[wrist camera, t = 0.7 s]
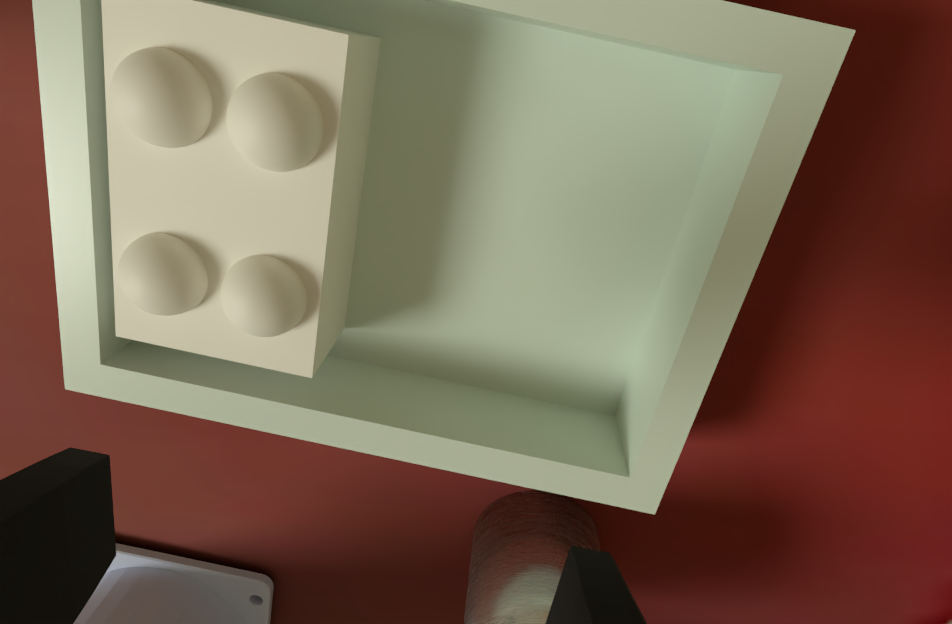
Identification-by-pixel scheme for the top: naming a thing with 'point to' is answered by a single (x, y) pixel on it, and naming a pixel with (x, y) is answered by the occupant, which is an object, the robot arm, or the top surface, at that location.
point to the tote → (493, 232)
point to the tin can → (523, 556)
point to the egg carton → (234, 177)
